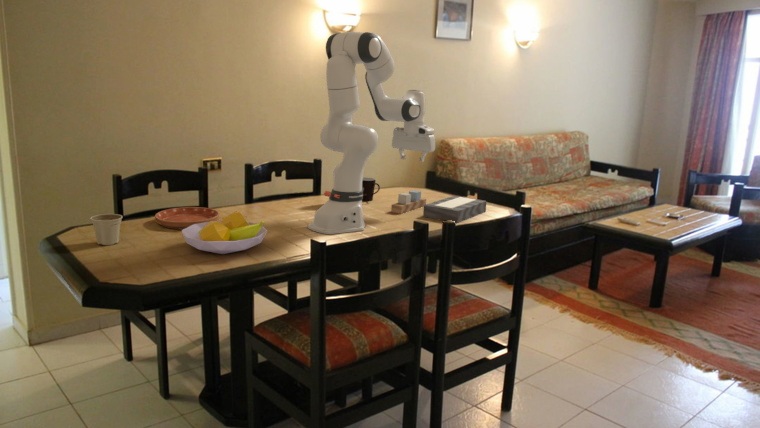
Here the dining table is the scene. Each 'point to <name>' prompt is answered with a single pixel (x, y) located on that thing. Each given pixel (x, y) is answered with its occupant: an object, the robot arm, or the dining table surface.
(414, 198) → the crate
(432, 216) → the block
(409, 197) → the block
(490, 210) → the dining table surface
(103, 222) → the flower pot
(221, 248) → the fruit bowl
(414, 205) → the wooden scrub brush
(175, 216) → the saucer
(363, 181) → the coffee mug
